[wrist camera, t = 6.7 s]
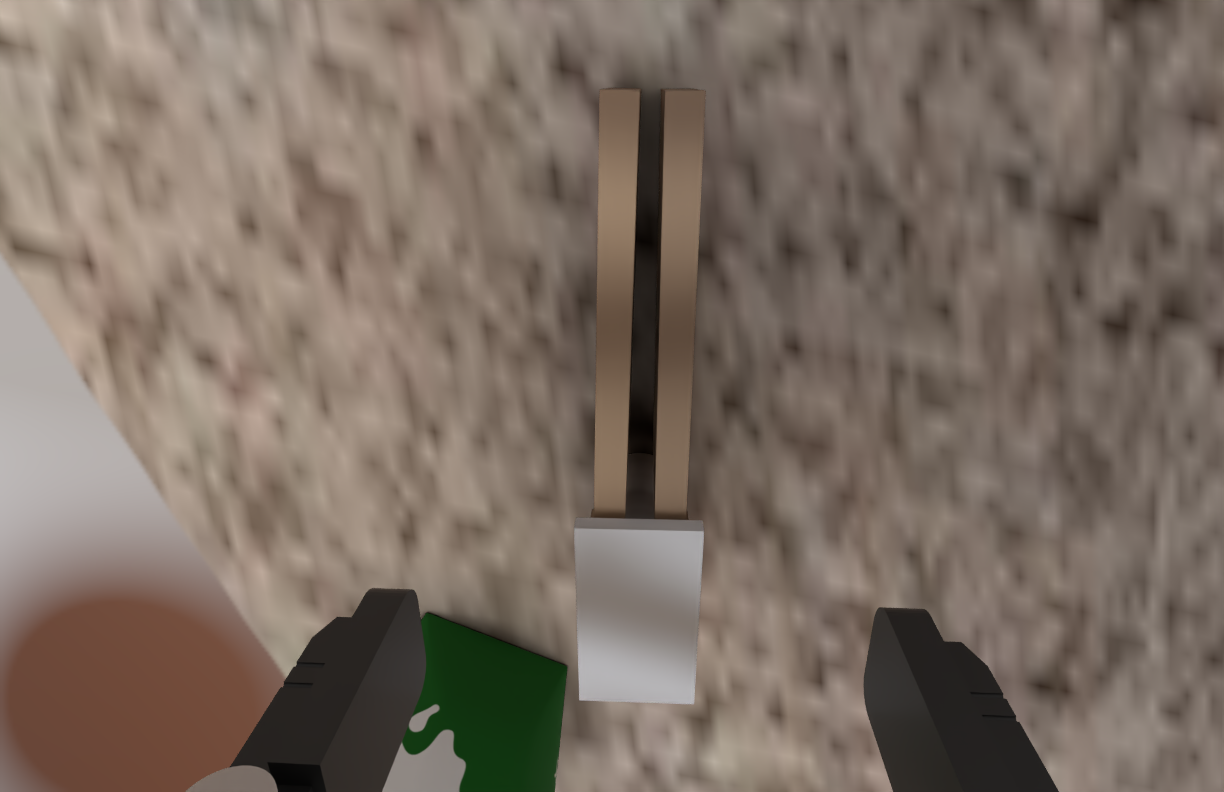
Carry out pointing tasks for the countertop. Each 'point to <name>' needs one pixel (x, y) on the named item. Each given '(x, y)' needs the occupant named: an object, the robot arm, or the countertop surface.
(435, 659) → the milk carton
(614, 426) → the tong arm
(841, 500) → the countertop surface
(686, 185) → the tong frame
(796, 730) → the countertop surface
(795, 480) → the countertop surface
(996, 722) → the robot arm
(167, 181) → the countertop surface
